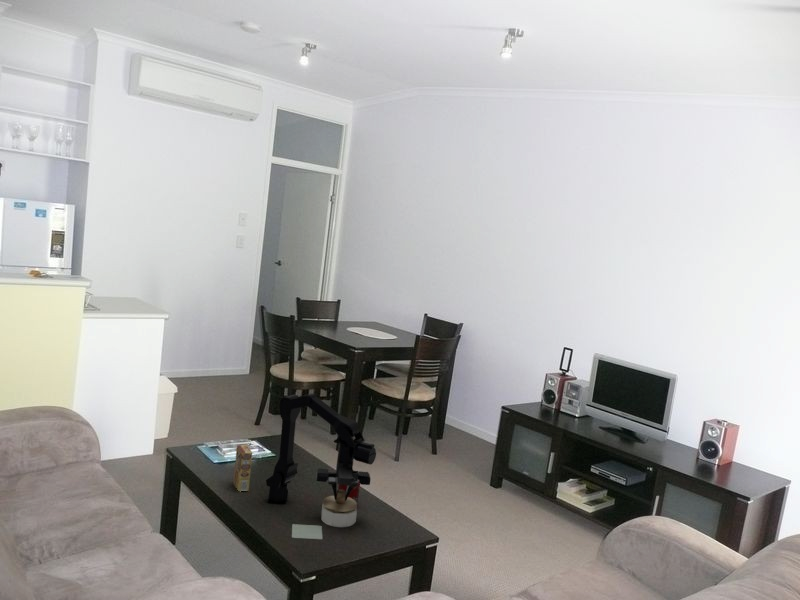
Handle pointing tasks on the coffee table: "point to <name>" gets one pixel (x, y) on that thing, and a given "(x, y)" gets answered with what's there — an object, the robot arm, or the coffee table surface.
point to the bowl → (338, 517)
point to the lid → (340, 502)
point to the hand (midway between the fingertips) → (340, 499)
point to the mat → (306, 531)
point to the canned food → (352, 491)
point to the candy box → (242, 468)
